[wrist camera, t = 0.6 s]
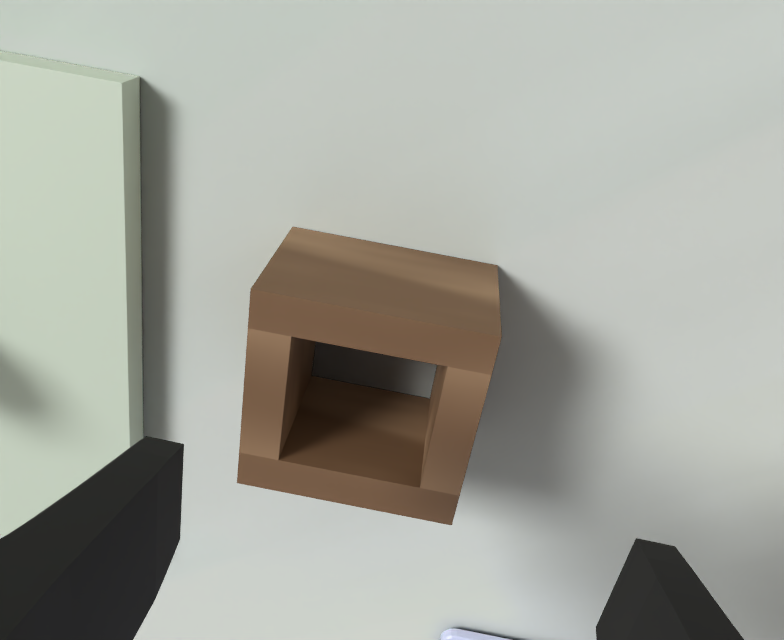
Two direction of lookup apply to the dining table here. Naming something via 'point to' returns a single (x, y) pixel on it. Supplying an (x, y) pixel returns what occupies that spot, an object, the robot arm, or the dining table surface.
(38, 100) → the board
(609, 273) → the dining table surface
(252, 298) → the collar
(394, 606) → the dining table surface
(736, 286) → the dining table surface
